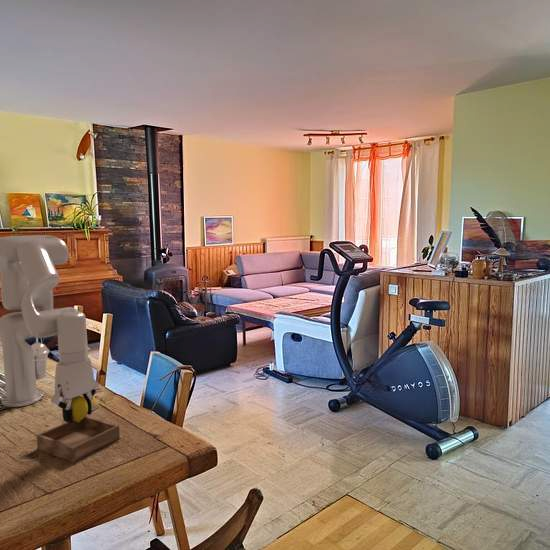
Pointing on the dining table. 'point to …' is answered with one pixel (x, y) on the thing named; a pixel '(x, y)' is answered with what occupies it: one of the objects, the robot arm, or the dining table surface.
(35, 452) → the dining table surface
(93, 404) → the bread roll
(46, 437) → the bin
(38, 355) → the cup with straw
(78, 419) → the lemon
